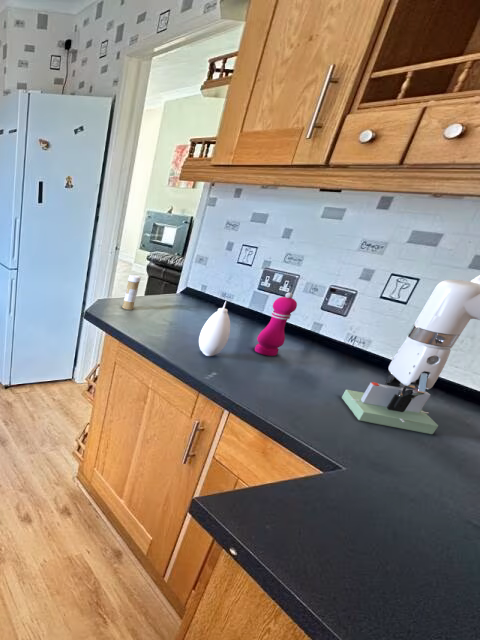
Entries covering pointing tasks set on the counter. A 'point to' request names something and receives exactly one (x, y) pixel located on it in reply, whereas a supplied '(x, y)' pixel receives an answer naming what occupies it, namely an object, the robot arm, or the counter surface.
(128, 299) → the sprinkles bottle
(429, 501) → the counter surface
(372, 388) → the white rectangular block
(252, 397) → the counter surface
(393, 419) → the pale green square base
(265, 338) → the pepper mill
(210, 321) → the white air blower bulb
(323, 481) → the counter surface
